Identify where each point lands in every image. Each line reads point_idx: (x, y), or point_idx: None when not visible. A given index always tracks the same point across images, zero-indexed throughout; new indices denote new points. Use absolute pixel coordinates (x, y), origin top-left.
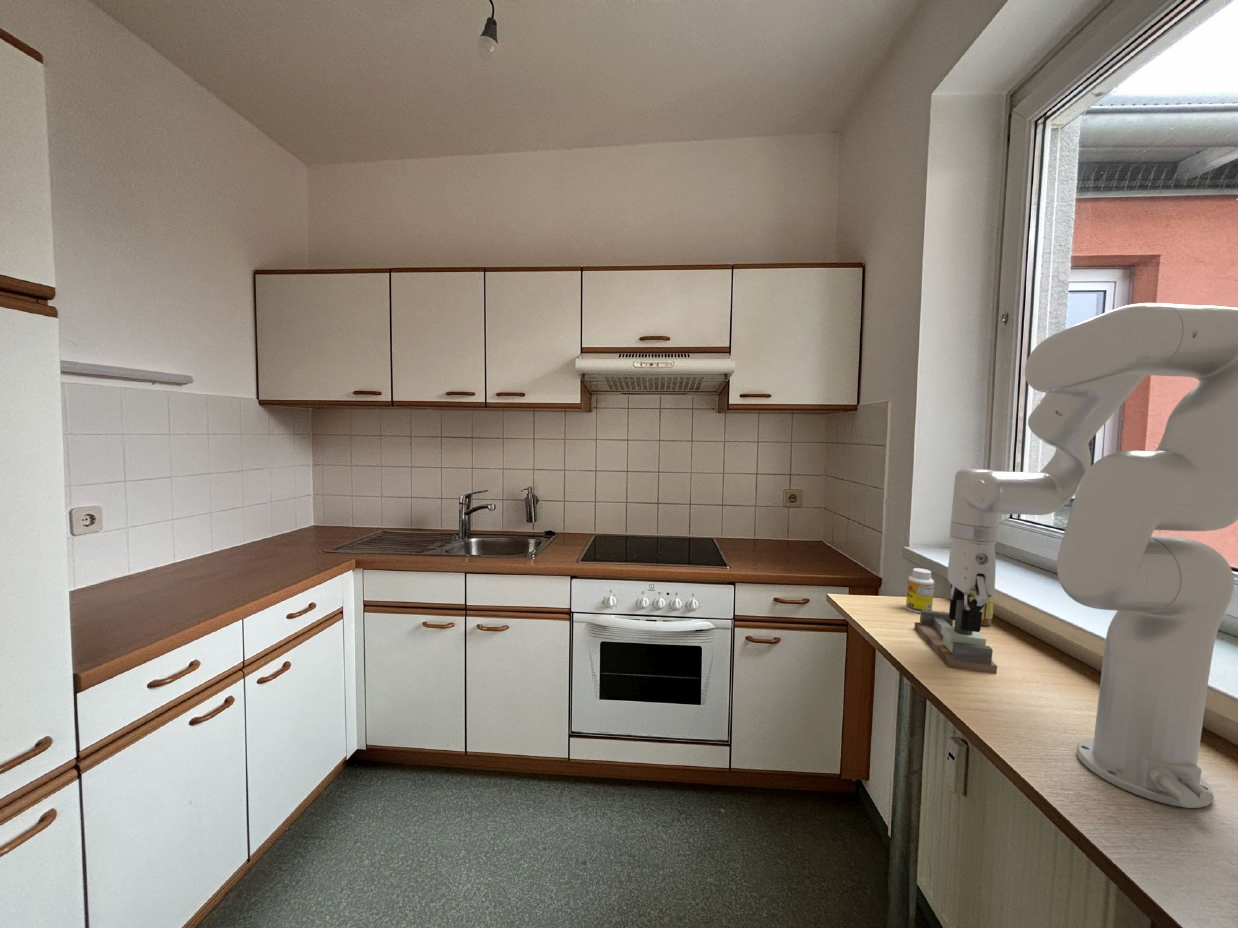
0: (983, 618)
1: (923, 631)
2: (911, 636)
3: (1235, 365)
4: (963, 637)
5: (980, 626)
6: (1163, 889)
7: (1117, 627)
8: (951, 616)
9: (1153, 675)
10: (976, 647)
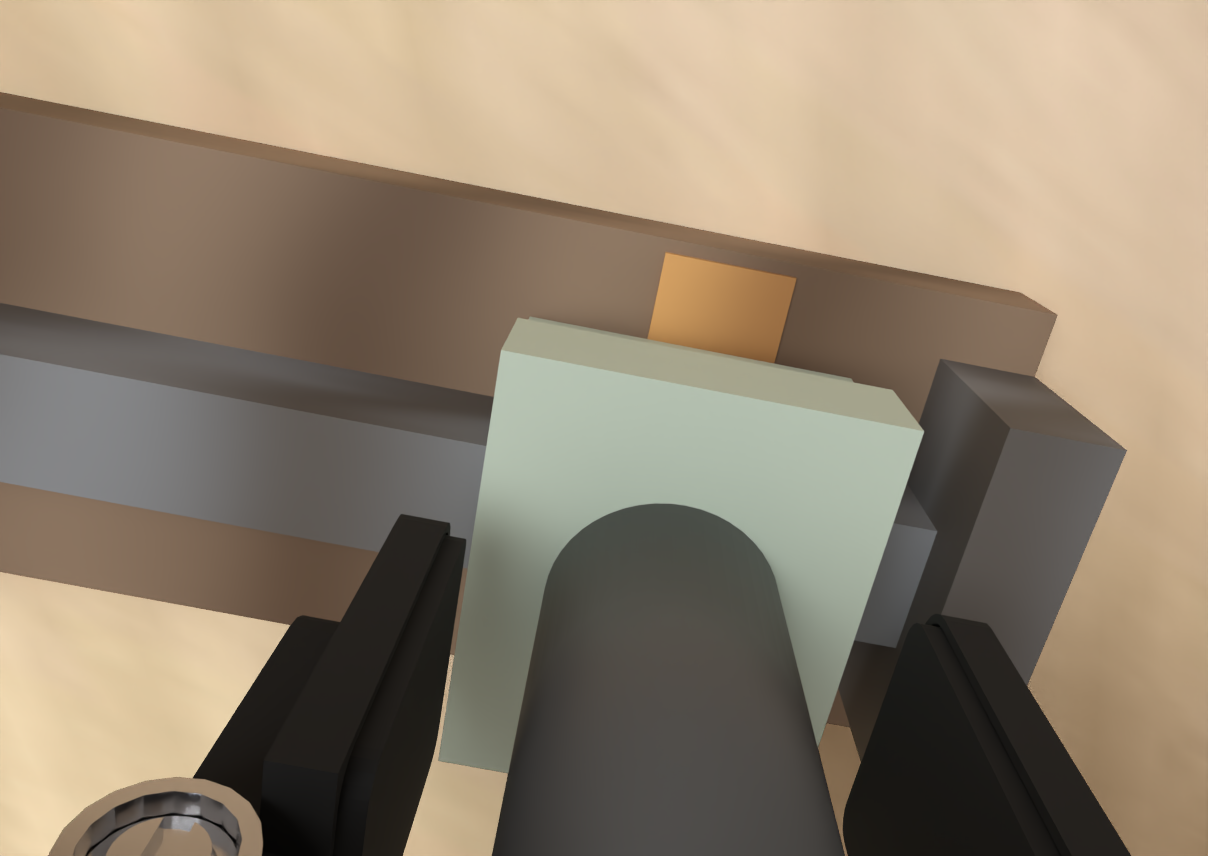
0: None
1: (117, 591)
2: (140, 638)
3: None
4: (829, 686)
5: (1015, 672)
6: None
7: None
8: (423, 777)
9: None
10: (1050, 626)
